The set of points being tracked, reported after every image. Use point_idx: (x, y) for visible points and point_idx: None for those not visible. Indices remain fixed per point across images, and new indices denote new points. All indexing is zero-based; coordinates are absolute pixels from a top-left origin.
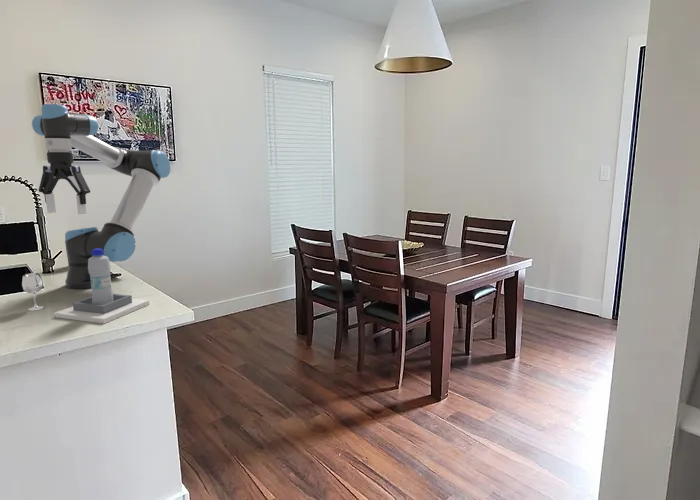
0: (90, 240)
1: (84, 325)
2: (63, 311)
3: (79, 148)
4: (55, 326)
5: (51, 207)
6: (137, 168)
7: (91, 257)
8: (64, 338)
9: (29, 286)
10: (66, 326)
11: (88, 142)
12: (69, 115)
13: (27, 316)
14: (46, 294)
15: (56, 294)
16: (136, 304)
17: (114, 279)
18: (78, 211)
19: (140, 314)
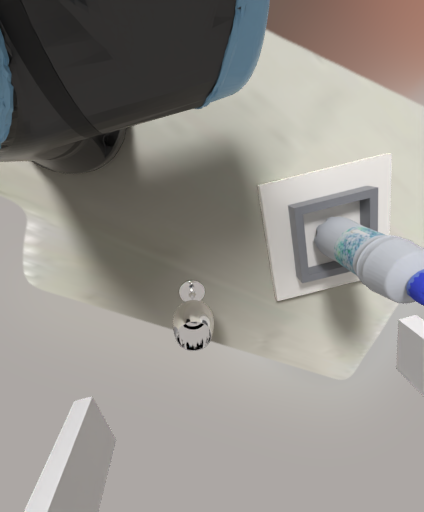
0: (103, 110)
1: (357, 290)
2: (285, 289)
3: None
4: (317, 315)
5: (93, 470)
6: None
7: (406, 297)
8: (374, 329)
9: (208, 332)
10: (334, 306)
11: None
12: None
13: (226, 317)
14: (93, 232)
15: (114, 220)
16: (385, 189)
17: None
18: (420, 385)
19: (410, 207)
